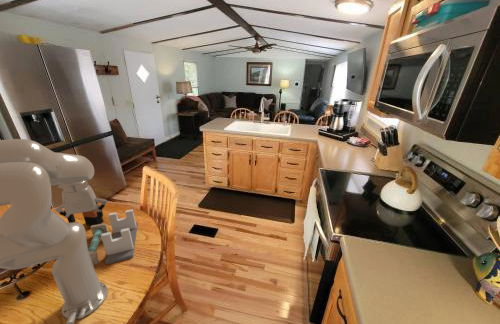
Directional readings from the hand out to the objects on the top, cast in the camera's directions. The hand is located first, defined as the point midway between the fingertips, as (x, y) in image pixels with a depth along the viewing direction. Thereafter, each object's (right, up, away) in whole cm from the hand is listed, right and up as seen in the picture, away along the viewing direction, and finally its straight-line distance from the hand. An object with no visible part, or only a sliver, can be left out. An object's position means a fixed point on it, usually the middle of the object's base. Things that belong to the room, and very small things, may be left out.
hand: (87, 220), depth 88 cm
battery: (-13, -8, +21) cm, 26 cm away
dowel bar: (0, -14, +5) cm, 15 cm away
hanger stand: (+10, -13, +9) cm, 19 cm away
